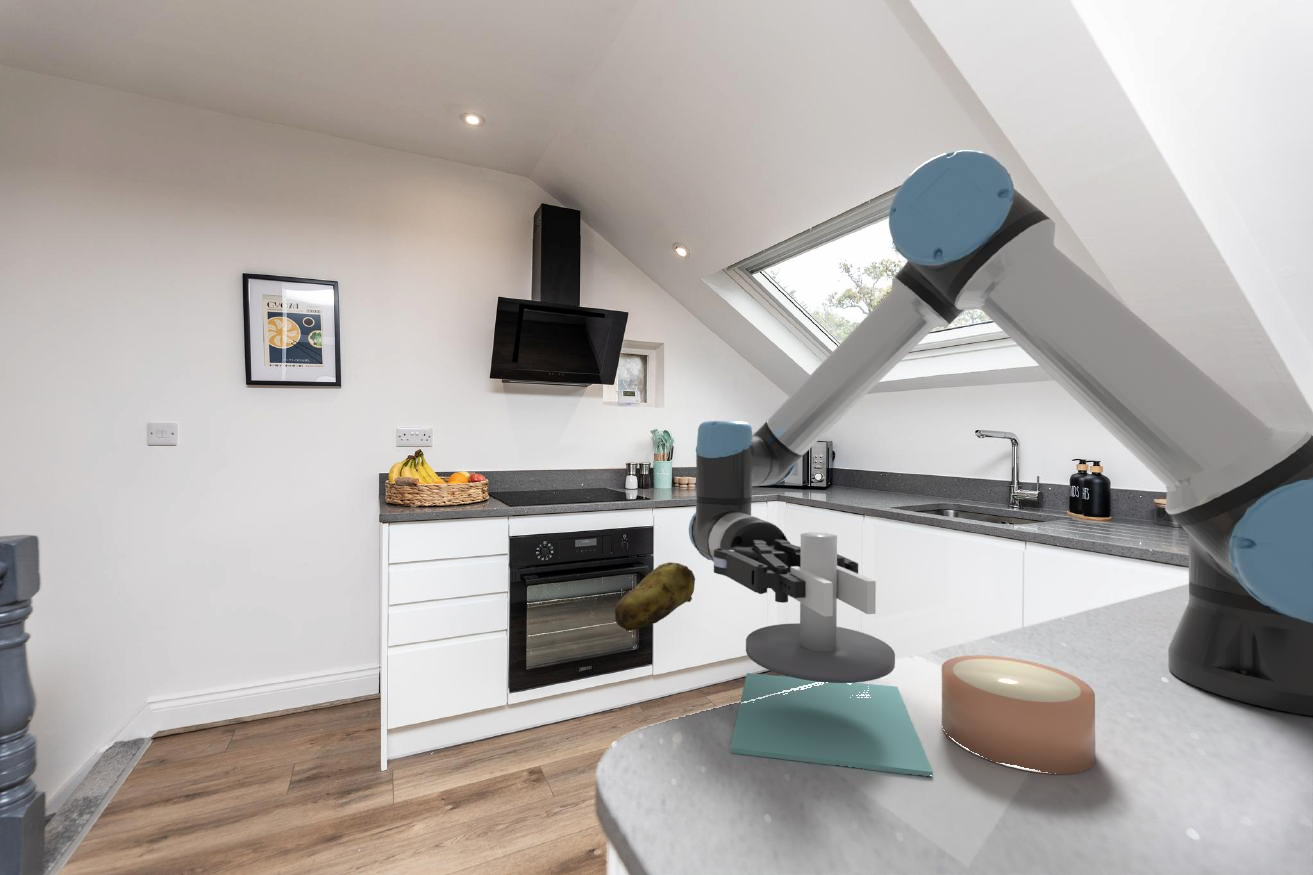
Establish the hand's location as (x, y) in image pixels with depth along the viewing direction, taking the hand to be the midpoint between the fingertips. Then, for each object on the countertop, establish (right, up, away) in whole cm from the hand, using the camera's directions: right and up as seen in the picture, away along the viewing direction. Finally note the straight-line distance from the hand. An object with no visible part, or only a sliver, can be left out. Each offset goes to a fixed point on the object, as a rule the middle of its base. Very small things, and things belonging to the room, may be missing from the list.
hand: (849, 598), depth 49 cm
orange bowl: (+14, -12, +1) cm, 19 cm away
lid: (-1, -7, +5) cm, 8 cm away
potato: (-16, -13, +33) cm, 39 cm away
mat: (-1, -12, +5) cm, 13 cm away
